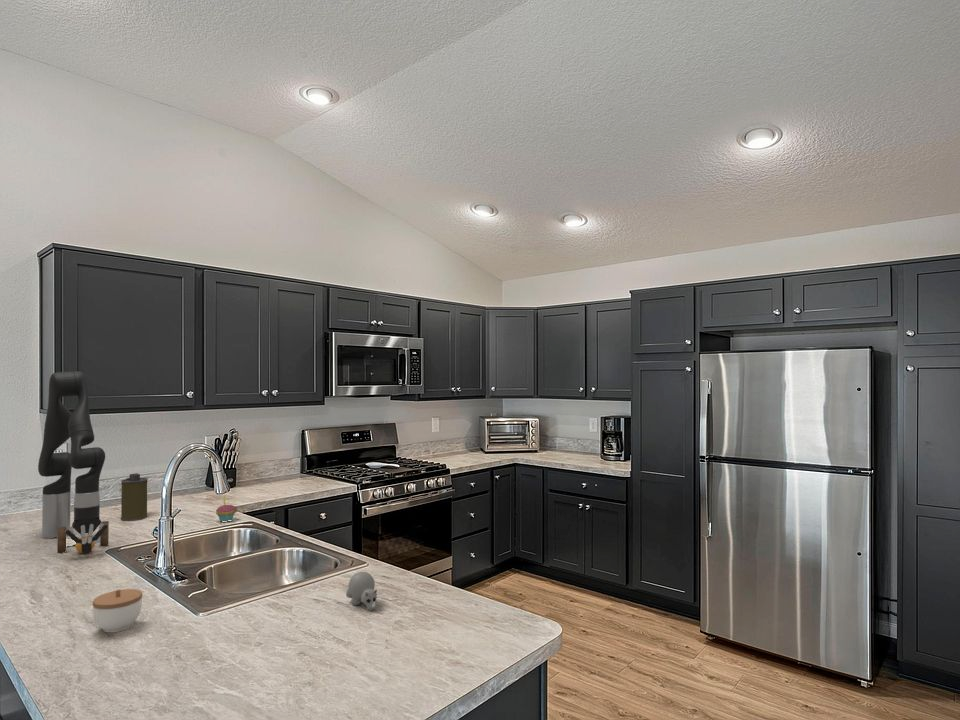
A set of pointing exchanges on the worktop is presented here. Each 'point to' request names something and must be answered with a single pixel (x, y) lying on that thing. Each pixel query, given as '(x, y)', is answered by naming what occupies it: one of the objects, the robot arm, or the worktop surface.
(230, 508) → the cupcake
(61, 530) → the post
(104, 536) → the post
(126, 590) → the lidded jar
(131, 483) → the canister
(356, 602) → the chubby cartoon animal
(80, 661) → the worktop surface
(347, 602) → the worktop surface
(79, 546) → the ball
